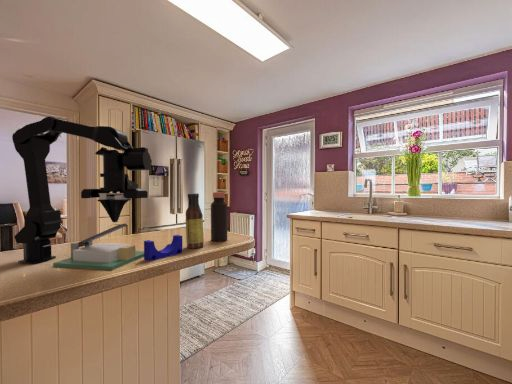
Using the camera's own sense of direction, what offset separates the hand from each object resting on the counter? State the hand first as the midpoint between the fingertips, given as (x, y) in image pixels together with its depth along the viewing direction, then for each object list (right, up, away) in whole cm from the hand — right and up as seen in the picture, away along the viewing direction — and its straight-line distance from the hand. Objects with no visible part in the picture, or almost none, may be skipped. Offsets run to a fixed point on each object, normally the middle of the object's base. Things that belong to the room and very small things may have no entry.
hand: (115, 222), depth 77 cm
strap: (-4, -5, +1) cm, 7 cm away
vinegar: (+27, -11, +30) cm, 42 cm away
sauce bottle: (+20, -12, +18) cm, 29 cm away
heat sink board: (-4, -12, +1) cm, 12 cm away
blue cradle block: (+12, -12, +6) cm, 18 cm away
